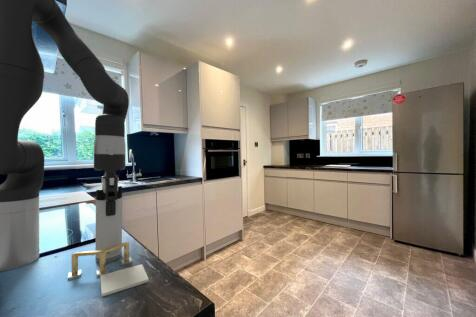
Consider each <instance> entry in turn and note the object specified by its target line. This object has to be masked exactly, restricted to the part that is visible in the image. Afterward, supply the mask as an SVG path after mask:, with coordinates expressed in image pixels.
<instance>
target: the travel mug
mask: <svg viewBox="0 0 476 317" xmlns="http://www.w3.org/2000/svg"><path fill="white" fill-rule="evenodd" d="M95 191H96V192H95V195H96V197H95V248H94V249H95V250H94V251H99V250H105V249H107V248H110V247H113V246H116V245H119V244H121V243H123V195H122V194H123V187H122V186H121V185H120V186H119V185H118V192H117V196H118V198H117V200H116V214H115V215H113V216H106V201H105V194H104V193H103V190H102V189H96V190H95ZM112 195H114V193H108V196H112ZM122 253H123V247H121V248H118V249H115V250H113V251H110V252H108V253H106V263H111V262H114V261H115V260H116V261H117V260H118V259H119V258H121V257H122V255H123V254H122ZM94 256H95V257H94V258H95V261H96V263H99V264H100V255H94Z"/></svg>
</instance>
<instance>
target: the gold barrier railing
mask: <svg viewBox="0 0 476 317" xmlns="http://www.w3.org/2000/svg"><path fill="white" fill-rule="evenodd" d="M121 247H122V248H123V259H121V260H120V263H121V266H122V267H123V266H126V265H130V264H133V259H132V257H131V256H130V242H128V241H124V242H122V243H121V244H119V245H116V246H113V247H110V248H107V249H105V250H99V251H95V250H87V251H77V252H74V253H72V254H71V272H68V276H67V281H70V280H73V279H77V278H81V277H82V269H79V257H82V256H83V257H84V256H95V255H100V263H99V269H96V278H100V275H104V274H108V273H110V271H109V267H106V266H107V264H106V253H108V252H110V251H113V250H115V249H118V248H121Z"/></svg>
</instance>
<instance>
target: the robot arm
mask: <svg viewBox="0 0 476 317" xmlns="http://www.w3.org/2000/svg"><path fill="white" fill-rule="evenodd" d="M32 23H34V24H36V25H37V26H38V27H40V29H42V30H43V31H44V32H45V33H46V34H47V35H48V36H50V38H51V40H52V41H53V42H54V43H55V44H56V47H57V49H58V52H59V53H60V55H61V57H62V58H63V60H64V61H65V63H67V65H68V66H69V67H70V69H72V71H73V72H74V73H75V74H76V76H78V77H79V79H80V82H81V83H82V85H83V87H84V89H85V90H86V91H87V93H88V95H90V97H92V98H93V99H94V101H96V102H97V103H100V104H101V105H103V108H102V109H103V110H102V113H101V114H99V115H97V116H96V117H95V122H94V124H95V125H94V141H93V170H94V171H104V174H103V176H101V179H100V180H101V184H102V188H101V190H103V193H104V194H105V201H106V216H113V215H115V214H116V200H117V198H118V196H117V192H118V187H119V181H120V178H119V176H118V175H117V174H116V173H117V171H122V170H125V169H126V147H127V146H126V138H125V137H126V136H125V133H126V132H125V129H126V128H125V127H126V126H125V122H126V119H127V114H128V110H129V106H130V102H129V101H130V100H129V95H128V92H127V90H126V89H125V88H124V87H123V86H121V85H120V84H119V83H117V82H116V81H115V80H114V79H113V78H112V77H111V76H110V75H109V73H107V71H106V69H105V66H104V65H103V63H102V62H101V61H100V60H99V58H98V57H97V56H96V54H94V52H93V51H92V50H91V49H90V47H89V46H88V45H87V44H86V43H85V42H84V41H83V39H82V38H81V37H80V36H79V35H78V34H77V33H76V31H75V30H74V28H73V27H72V25H71V24H70V23H69V21H68V19H67V17H66V16H65V14H64V12H63V10H62V9H61V7H60V6H59V4H58V2H57V1H56V0H0V175H7V176H6V180H5V181H4V182H2V183H1V184H0V272H4V271H5V272H6V271H8V270H9V271H10V270H14V269H18V268H20V267H24V266H27V265H30V264H31V263H33V262H35V261H37V260H38V259H39V258H40V192H41V189H42V188H43V184H44V176H45V175H44V174H45V153H44V150H43V148H42V146H41V145H40V144H39V143H37V142H35V141H33V140H28V139H27V140H26V139H19V131H20V126H21V123H22V120H23V119H24V117H25V115H27V113H28V112H29V111H30V110H31V109H32V107H33V108H34V106H35V105H36V103H37V102H38V101H39V100H40V98H41V97H42V94H43V92H44V91H43V90H44V81H45V67H44V64H43V60H42V58H41V55H40V52H39V50H38V48H37V45H36V42H35V39H34V35H33V28H32V26H33V24H32ZM108 193H114V195H112V196H108Z"/></svg>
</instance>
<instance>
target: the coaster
mask: <svg viewBox="0 0 476 317" xmlns="http://www.w3.org/2000/svg"><path fill="white" fill-rule="evenodd" d="M147 274H148V273H147V271H146V269H145V268H144V265H143V264H142V263H141V264H138V265H134V266H131V267H126V268H122V269H120V270H115V271H112V272H109V273H108V274H104V275H100V277H99V278H100V293H101V298H102V297H105V296H108V295H112V294H115V293H117V292H118V293H119V292H122V291H124V290H128V289H130V288H133V287H136V286H140V285H143V284H146V283H148V282H150V280H149V279H150V278H149V277H148V275H147Z"/></svg>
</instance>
